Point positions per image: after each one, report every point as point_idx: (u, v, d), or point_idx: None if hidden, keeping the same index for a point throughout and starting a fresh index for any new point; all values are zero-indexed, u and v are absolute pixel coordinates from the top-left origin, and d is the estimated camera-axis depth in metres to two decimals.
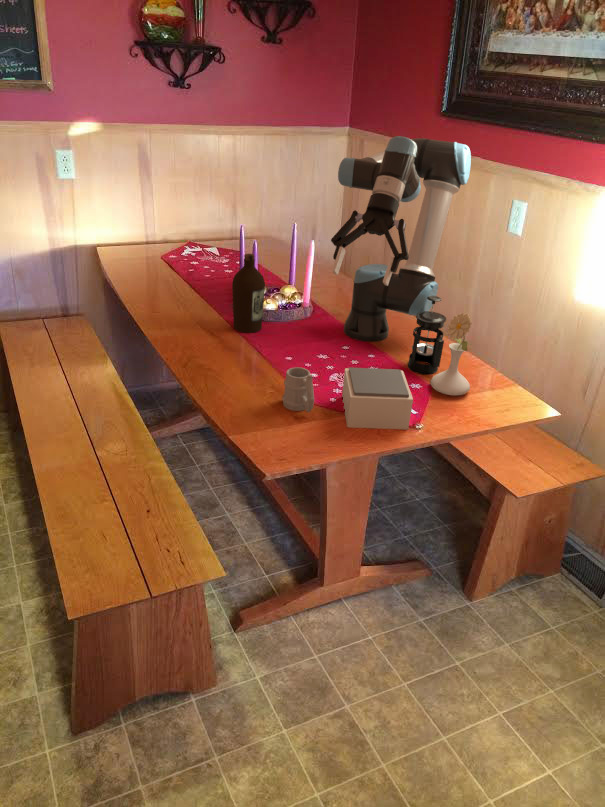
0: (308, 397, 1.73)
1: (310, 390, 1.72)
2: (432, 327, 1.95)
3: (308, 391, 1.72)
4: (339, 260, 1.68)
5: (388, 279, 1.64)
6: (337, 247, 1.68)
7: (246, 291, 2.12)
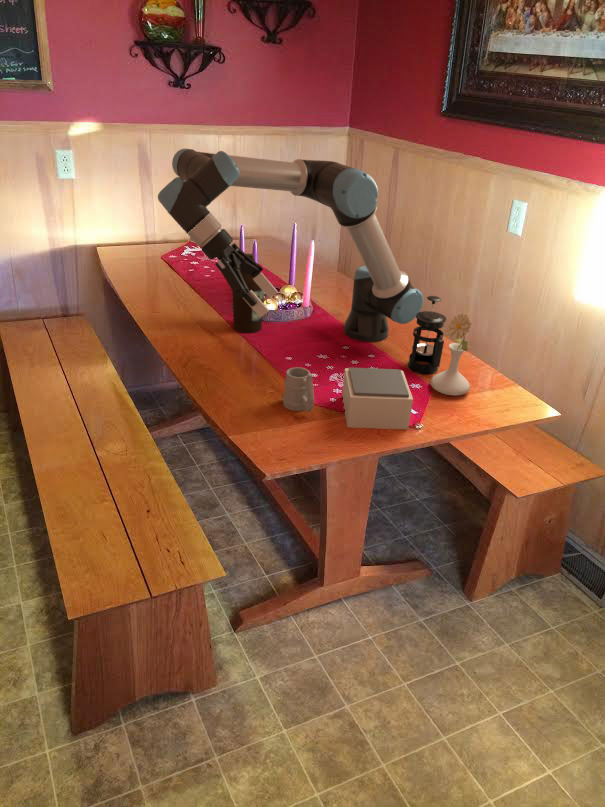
0: (308, 397, 1.73)
1: (310, 390, 1.72)
2: (432, 327, 1.95)
3: (308, 391, 1.72)
4: (263, 287, 1.71)
5: (261, 310, 1.60)
6: None
7: None
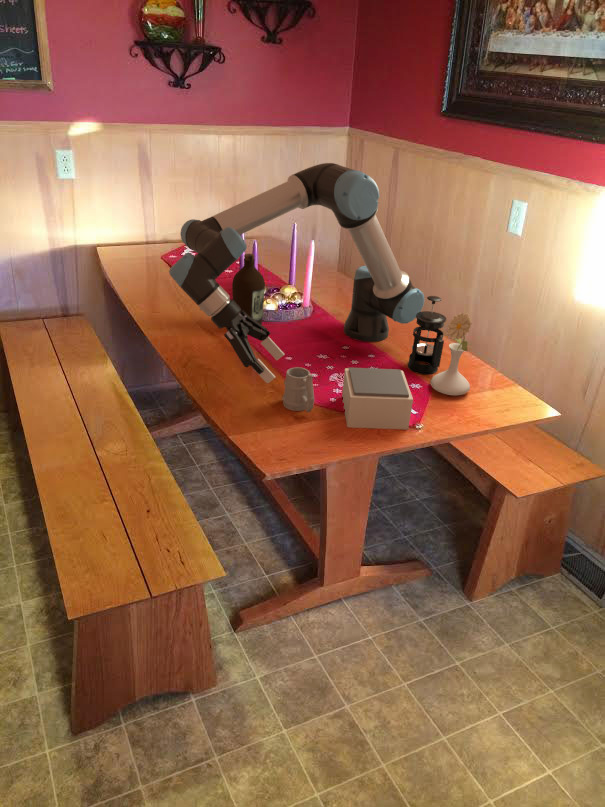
0: (308, 397, 1.73)
1: (310, 390, 1.72)
2: (432, 327, 1.95)
3: (308, 391, 1.72)
4: (271, 350, 1.79)
5: (268, 376, 1.68)
6: None
7: (246, 291, 2.12)
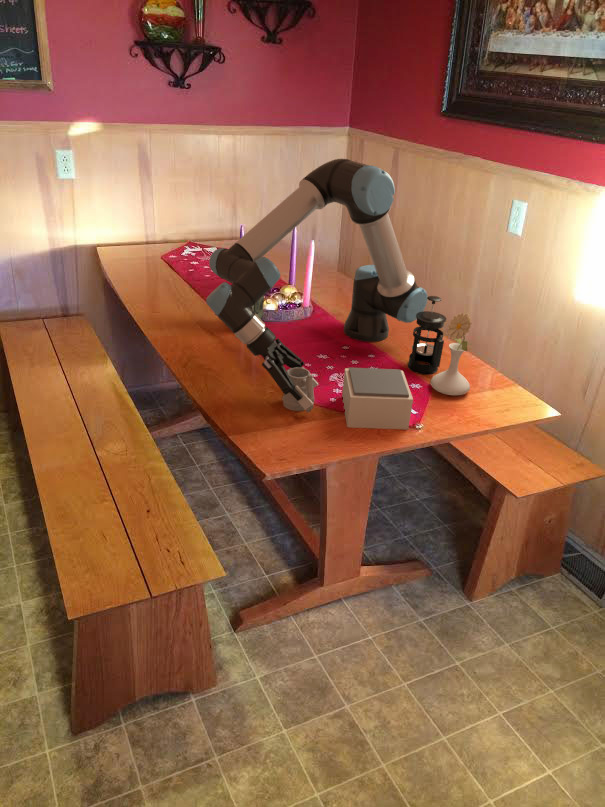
0: (308, 397, 1.73)
1: (310, 390, 1.72)
2: (432, 327, 1.95)
3: (308, 391, 1.72)
4: None
5: (306, 403, 1.72)
6: None
7: None
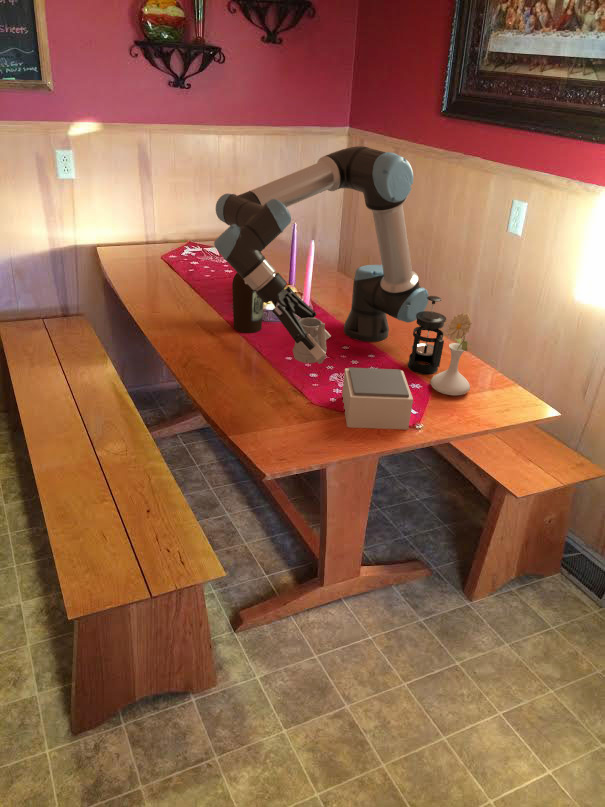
0: None
1: (322, 339, 1.64)
2: (432, 327, 1.95)
3: (320, 340, 1.65)
4: None
5: (318, 352, 1.65)
6: None
7: (246, 291, 2.12)
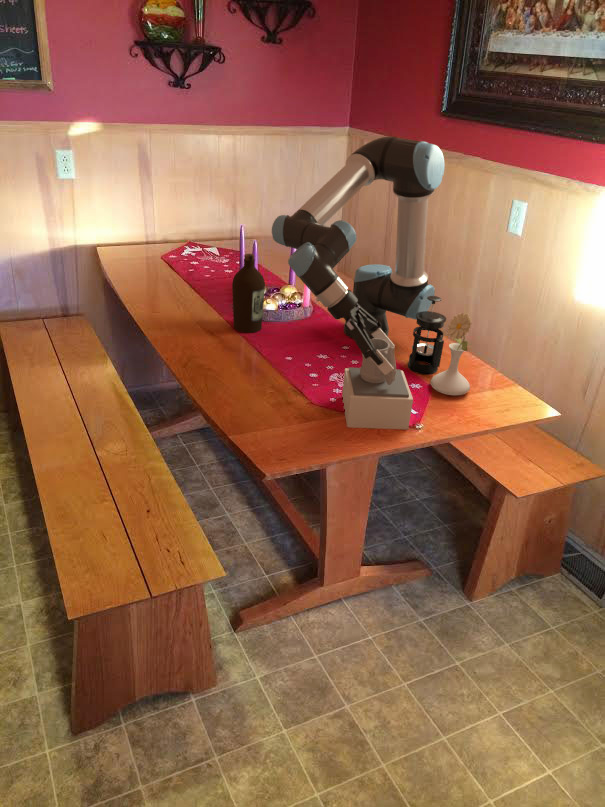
0: None
1: (392, 363, 1.67)
2: (432, 327, 1.95)
3: None
4: None
5: (386, 368, 1.65)
6: None
7: (246, 291, 2.12)
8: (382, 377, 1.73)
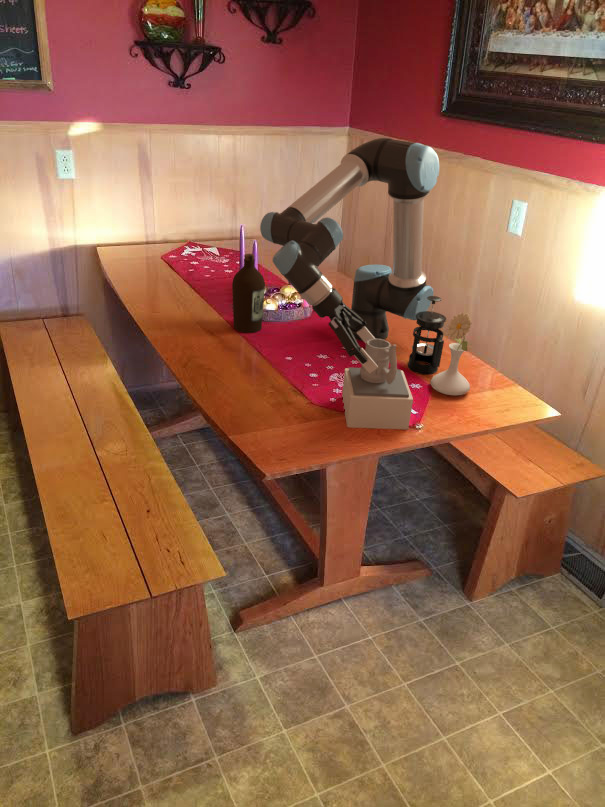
0: (391, 368, 1.68)
1: (393, 360, 1.67)
2: (432, 327, 1.95)
3: (391, 362, 1.68)
4: (366, 340, 1.77)
5: (371, 366, 1.65)
6: None
7: (246, 291, 2.12)
8: (382, 377, 1.73)
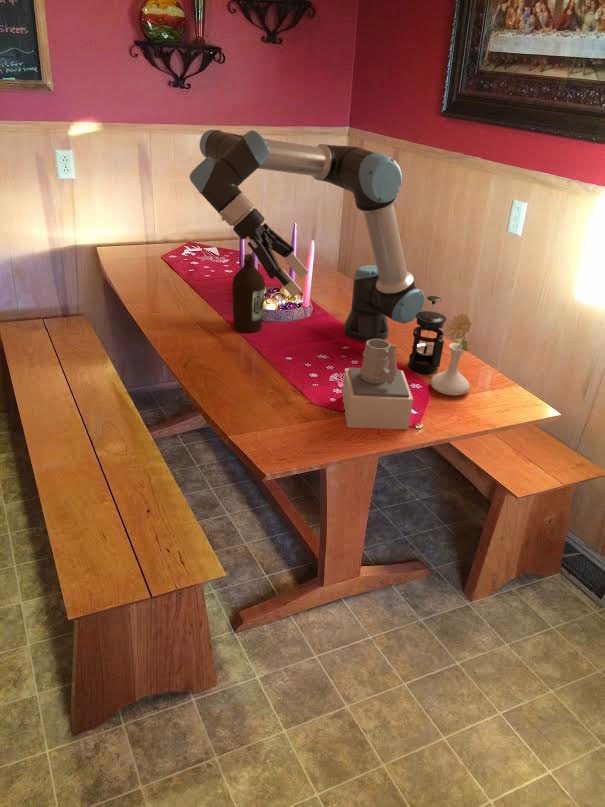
0: (391, 368, 1.68)
1: (393, 361, 1.67)
2: (432, 327, 1.95)
3: (391, 362, 1.68)
4: (294, 267, 1.71)
5: (293, 289, 1.59)
6: None
7: (246, 291, 2.12)
8: (382, 377, 1.73)
